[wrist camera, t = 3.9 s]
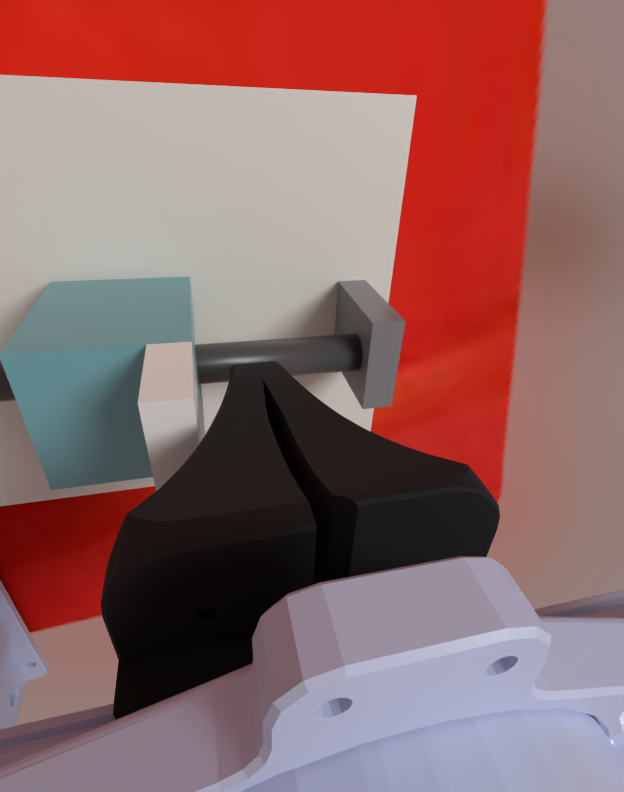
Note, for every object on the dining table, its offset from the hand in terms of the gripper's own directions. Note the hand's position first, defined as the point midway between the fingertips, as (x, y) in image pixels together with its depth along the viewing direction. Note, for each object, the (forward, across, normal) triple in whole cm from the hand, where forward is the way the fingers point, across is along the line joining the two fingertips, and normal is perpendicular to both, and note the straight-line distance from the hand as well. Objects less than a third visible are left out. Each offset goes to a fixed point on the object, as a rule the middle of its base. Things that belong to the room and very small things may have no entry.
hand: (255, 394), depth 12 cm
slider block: (+4, +3, 0) cm, 5 cm away
